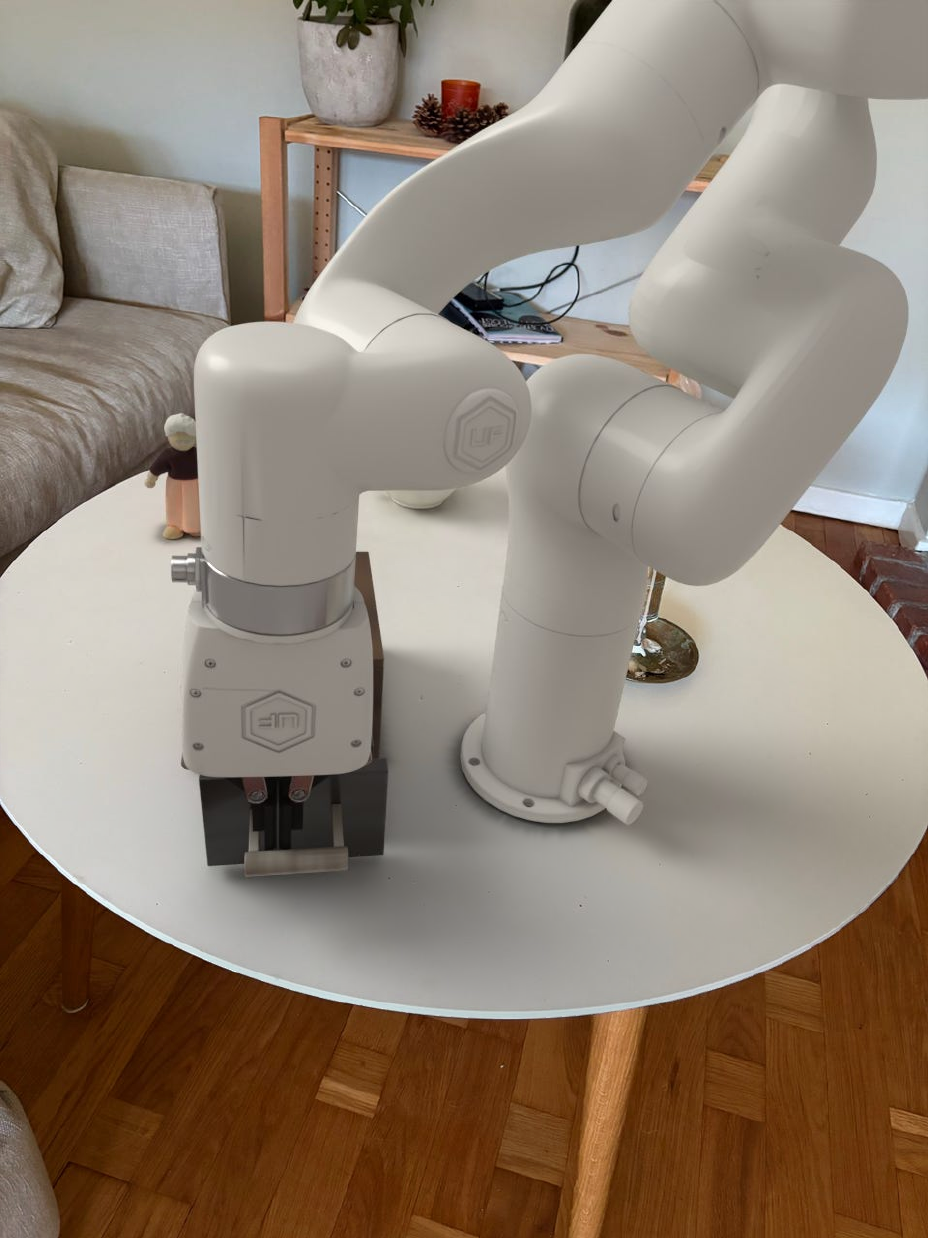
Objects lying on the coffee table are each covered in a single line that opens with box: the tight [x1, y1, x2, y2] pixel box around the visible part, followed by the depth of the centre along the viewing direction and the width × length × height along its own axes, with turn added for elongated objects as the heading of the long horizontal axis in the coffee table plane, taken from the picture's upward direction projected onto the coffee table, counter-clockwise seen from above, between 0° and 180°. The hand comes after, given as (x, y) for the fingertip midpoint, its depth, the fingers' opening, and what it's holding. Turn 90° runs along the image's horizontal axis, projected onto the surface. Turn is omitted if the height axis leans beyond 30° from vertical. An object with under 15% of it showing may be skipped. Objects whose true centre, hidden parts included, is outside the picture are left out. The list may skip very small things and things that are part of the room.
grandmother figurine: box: [144, 412, 201, 540], centre depth 94 cm, size 8×4×13 cm, turn 122°
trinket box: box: [385, 488, 458, 510], centre depth 105 cm, size 11×11×9 cm
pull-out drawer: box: [198, 735, 389, 878], centre depth 64 cm, size 18×11×8 cm, turn 9°
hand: (277, 834), depth 58 cm, fingers closed
